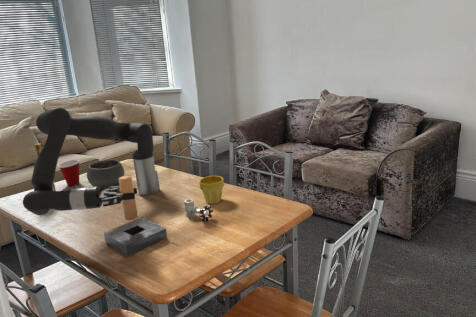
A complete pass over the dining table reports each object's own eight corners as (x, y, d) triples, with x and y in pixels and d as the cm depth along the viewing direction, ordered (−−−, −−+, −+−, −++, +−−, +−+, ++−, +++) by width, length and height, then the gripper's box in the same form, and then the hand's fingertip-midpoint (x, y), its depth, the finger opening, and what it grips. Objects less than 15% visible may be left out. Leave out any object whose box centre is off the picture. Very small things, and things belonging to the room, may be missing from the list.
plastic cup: (61, 183, 222) (57, 162, 219) (83, 179, 226) (78, 158, 222) (62, 189, 212) (57, 167, 209) (84, 185, 216) (80, 163, 213)
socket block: (143, 226, 162) (142, 217, 161) (167, 238, 151) (165, 228, 149) (105, 242, 152) (103, 232, 151) (127, 256, 140) (125, 245, 139)
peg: (133, 213, 152) (127, 174, 147) (140, 217, 149) (133, 177, 144) (122, 218, 149) (116, 178, 145) (129, 221, 146) (122, 180, 141)
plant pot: (211, 207, 174) (209, 185, 171) (196, 201, 182) (194, 180, 179) (230, 199, 180) (228, 178, 178) (215, 194, 188) (213, 173, 185)
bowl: (111, 179, 221) (107, 156, 218) (134, 184, 211) (130, 160, 207) (82, 191, 208) (77, 166, 204) (105, 196, 197) (100, 171, 194)
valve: (181, 217, 167) (201, 224, 159) (179, 202, 165) (199, 208, 157) (193, 211, 172) (213, 218, 164) (191, 196, 170) (212, 202, 162)
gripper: (78, 195, 137) (131, 190, 138) (89, 181, 151) (137, 176, 152) (82, 216, 139) (134, 211, 141) (92, 200, 153) (140, 195, 154)
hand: (135, 193), depth 146 cm, fingers closed on peg, 4 cm apart
